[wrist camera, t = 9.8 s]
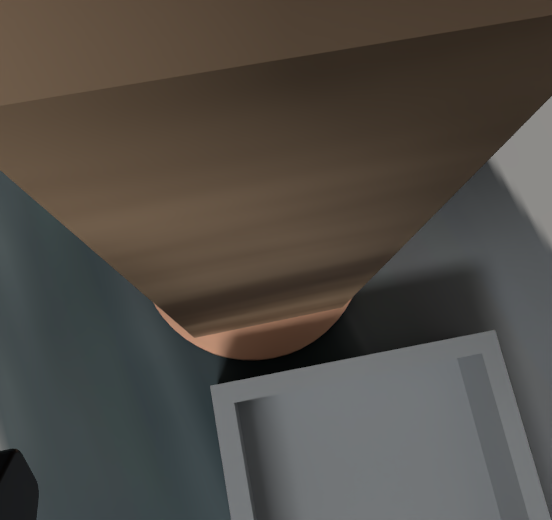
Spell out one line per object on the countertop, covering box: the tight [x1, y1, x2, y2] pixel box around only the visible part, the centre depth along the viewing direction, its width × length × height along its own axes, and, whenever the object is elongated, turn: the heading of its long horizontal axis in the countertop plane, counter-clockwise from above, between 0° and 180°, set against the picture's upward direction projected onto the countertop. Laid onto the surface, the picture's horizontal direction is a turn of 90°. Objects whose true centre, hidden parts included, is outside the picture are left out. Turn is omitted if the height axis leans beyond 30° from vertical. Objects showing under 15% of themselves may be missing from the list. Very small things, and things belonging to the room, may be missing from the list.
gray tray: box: [210, 330, 551, 520], centre depth 15 cm, size 9×9×2 cm
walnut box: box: [0, 0, 552, 338], centre depth 11 cm, size 5×5×14 cm
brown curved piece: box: [154, 298, 352, 361], centre depth 18 cm, size 8×8×1 cm
